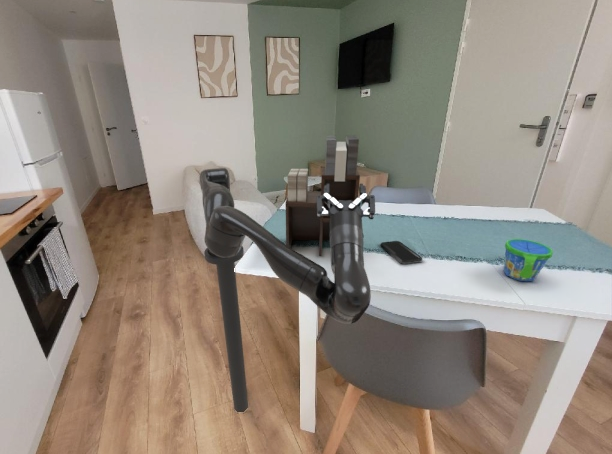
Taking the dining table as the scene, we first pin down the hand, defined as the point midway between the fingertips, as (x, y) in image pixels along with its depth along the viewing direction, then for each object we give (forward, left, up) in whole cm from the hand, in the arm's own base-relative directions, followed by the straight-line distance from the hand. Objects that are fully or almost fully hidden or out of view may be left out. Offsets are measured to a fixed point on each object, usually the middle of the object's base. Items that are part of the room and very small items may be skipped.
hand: (344, 185), depth 77 cm
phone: (+32, +3, -31) cm, 45 cm away
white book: (+12, +15, -1) cm, 19 cm away
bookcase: (+11, +23, -31) cm, 40 cm away
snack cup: (+49, -26, -31) cm, 64 cm away
